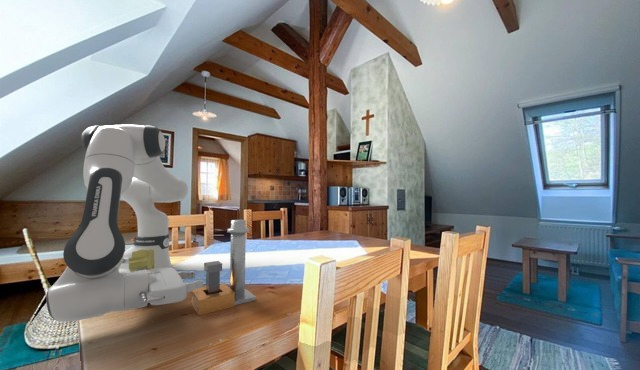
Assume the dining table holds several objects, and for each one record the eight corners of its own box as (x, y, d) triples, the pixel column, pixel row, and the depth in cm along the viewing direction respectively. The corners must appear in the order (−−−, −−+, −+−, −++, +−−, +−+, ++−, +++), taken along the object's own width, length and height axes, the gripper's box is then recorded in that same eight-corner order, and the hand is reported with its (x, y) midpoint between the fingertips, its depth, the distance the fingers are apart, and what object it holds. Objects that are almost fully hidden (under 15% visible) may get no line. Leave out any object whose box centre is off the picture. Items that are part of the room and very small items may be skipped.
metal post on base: (198, 315, 70) (200, 224, 70) (191, 303, 77) (193, 221, 78) (256, 300, 79) (257, 221, 80) (245, 291, 87) (246, 218, 88)
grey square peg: (206, 309, 74) (207, 265, 74) (203, 304, 77) (204, 262, 77) (221, 305, 76) (222, 263, 76) (217, 301, 79) (218, 260, 79)
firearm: (158, 290, 98) (156, 249, 100) (150, 301, 72) (146, 245, 75) (144, 293, 95) (142, 252, 98) (130, 305, 70) (127, 248, 73)
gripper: (141, 288, 58) (208, 276, 66) (137, 267, 74) (191, 259, 82) (141, 317, 57) (207, 302, 66) (136, 289, 74) (190, 280, 82)
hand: (198, 278), depth 74 cm, fingers open, 8 cm apart
